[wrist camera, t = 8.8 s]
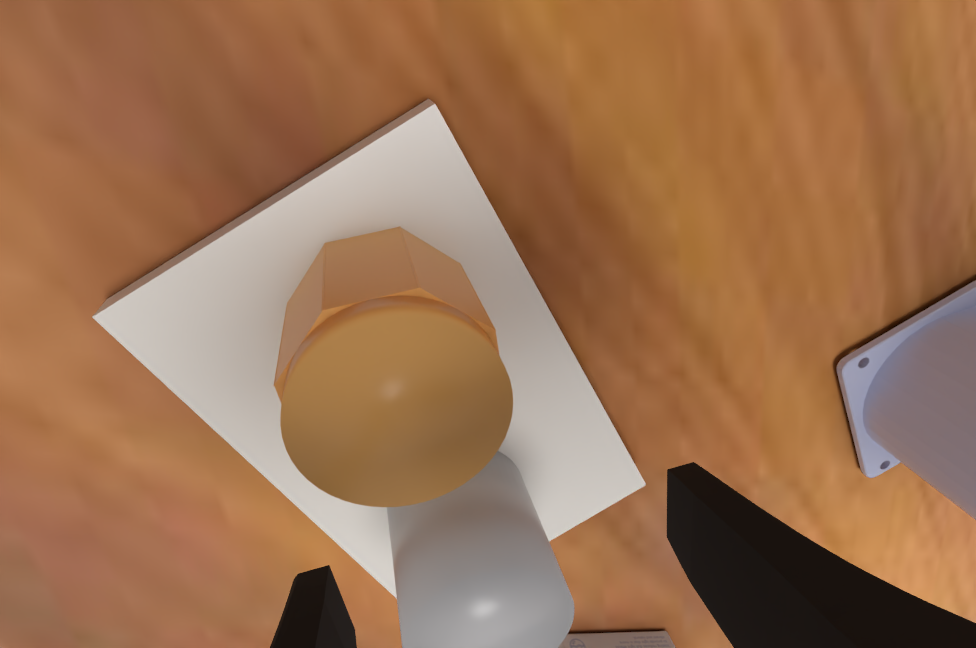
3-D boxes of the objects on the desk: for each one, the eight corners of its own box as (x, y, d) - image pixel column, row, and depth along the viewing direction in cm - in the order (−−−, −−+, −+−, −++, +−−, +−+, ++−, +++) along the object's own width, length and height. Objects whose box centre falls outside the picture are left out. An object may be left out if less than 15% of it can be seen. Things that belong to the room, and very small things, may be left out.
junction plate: (428, 98, 17) (480, 138, 11) (633, 465, 25) (723, 598, 19) (106, 299, 17) (-10, 440, 11) (414, 594, 26) (438, 761, 20)
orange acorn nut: (451, 214, 17) (497, 288, 12) (479, 364, 20) (525, 473, 15) (269, 254, 16) (243, 349, 12) (322, 404, 19) (319, 532, 14)
